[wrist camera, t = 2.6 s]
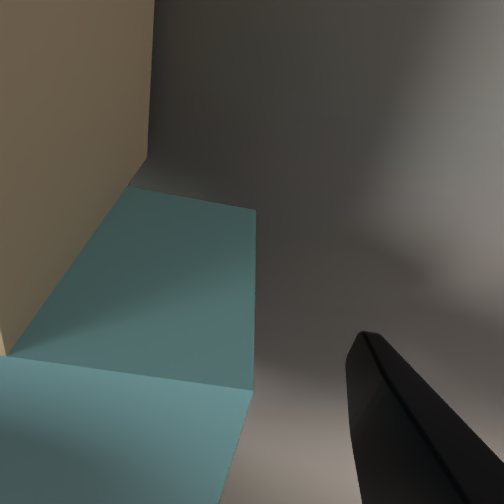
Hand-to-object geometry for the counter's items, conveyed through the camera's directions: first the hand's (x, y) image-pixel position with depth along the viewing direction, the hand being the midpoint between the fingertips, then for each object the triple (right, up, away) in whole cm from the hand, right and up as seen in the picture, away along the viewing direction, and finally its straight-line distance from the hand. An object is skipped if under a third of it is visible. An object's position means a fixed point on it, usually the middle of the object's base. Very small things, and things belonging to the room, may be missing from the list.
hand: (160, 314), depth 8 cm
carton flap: (+1, +6, -1) cm, 6 cm away
